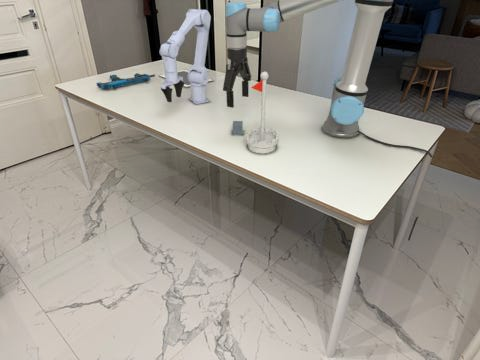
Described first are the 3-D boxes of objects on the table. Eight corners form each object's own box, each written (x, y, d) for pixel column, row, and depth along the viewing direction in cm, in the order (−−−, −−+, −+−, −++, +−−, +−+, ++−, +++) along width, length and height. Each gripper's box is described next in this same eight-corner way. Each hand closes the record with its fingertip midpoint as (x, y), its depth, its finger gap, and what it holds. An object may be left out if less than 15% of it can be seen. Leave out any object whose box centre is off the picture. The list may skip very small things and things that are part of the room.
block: (242, 130, 150) (242, 121, 147) (242, 134, 147) (242, 124, 144) (233, 130, 150) (233, 120, 148) (232, 134, 147) (232, 124, 144)
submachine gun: (140, 68, 226) (159, 74, 209) (142, 73, 228) (160, 80, 211) (89, 77, 207) (104, 85, 190) (90, 84, 209) (106, 92, 192)
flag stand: (269, 137, 144) (273, 65, 127) (283, 151, 134) (289, 74, 117) (240, 142, 140) (240, 68, 123) (253, 157, 130) (255, 78, 113)
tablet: (159, 75, 221) (159, 75, 220) (185, 70, 232) (185, 69, 231) (186, 87, 200) (186, 86, 200) (213, 80, 211) (213, 80, 211)
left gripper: (173, 66, 164) (176, 93, 172) (154, 73, 153) (158, 102, 161) (185, 68, 162) (187, 95, 169) (166, 75, 151) (170, 105, 158)
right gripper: (242, 40, 140) (243, 91, 151) (211, 53, 121) (215, 110, 133) (259, 42, 137) (258, 93, 148) (230, 55, 118) (232, 113, 130)
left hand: (174, 99), depth 165 cm, fingers open, 7 cm apart
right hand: (238, 101), depth 141 cm, fingers open, 13 cm apart
